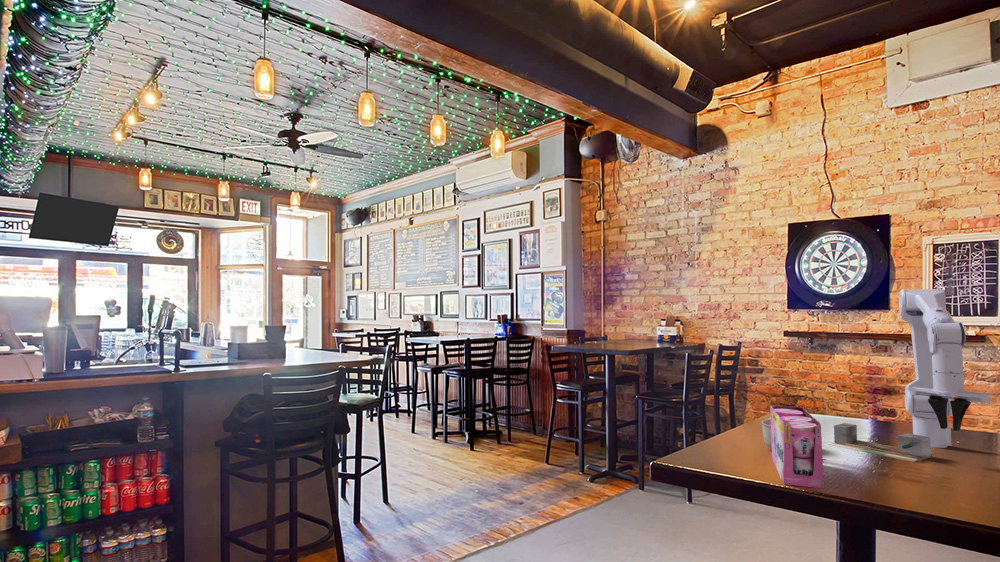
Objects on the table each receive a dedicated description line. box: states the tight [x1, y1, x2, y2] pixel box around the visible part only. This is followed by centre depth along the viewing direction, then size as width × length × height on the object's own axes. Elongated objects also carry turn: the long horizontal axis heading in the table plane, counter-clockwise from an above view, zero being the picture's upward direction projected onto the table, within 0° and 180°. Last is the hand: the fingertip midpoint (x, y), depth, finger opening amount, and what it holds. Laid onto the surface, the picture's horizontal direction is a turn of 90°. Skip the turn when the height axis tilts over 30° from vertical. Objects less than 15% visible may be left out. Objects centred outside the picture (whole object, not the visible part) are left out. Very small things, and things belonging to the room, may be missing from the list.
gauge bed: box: [826, 422, 933, 463], centre depth 141 cm, size 12×22×6 cm, turn 32°
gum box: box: [769, 405, 824, 489], centre depth 125 cm, size 24×8×14 cm, turn 159°
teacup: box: [761, 417, 772, 451], centre depth 146 cm, size 14×11×8 cm
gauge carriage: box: [897, 432, 932, 461], centre depth 134 cm, size 8×5×5 cm, turn 122°
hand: (950, 429), depth 128 cm, fingers closed
